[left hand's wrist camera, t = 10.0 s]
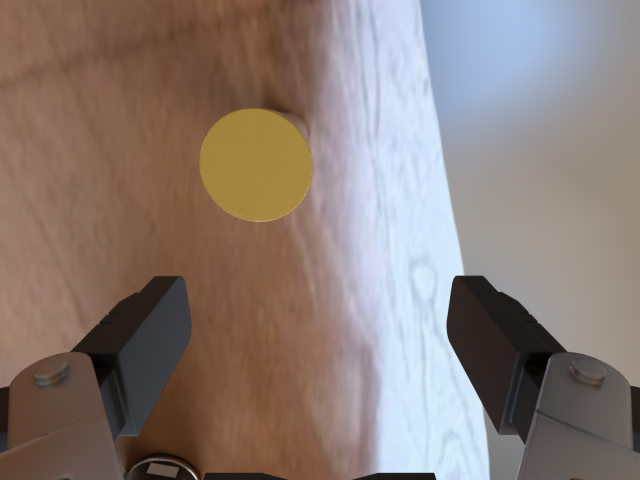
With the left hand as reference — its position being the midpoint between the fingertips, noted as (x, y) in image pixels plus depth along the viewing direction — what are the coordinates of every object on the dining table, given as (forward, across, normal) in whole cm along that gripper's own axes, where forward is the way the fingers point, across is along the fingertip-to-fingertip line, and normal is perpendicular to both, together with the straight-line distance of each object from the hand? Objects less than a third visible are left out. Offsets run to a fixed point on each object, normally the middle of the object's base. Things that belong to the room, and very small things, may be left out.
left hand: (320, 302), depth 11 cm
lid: (+8, -3, +3) cm, 9 cm away
